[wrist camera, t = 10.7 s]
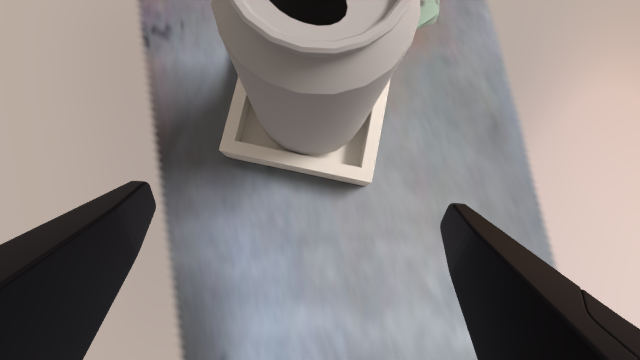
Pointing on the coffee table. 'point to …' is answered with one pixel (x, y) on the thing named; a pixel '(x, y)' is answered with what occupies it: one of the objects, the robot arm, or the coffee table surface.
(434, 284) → the coffee table surface
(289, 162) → the tray
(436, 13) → the green oval piece
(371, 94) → the can
